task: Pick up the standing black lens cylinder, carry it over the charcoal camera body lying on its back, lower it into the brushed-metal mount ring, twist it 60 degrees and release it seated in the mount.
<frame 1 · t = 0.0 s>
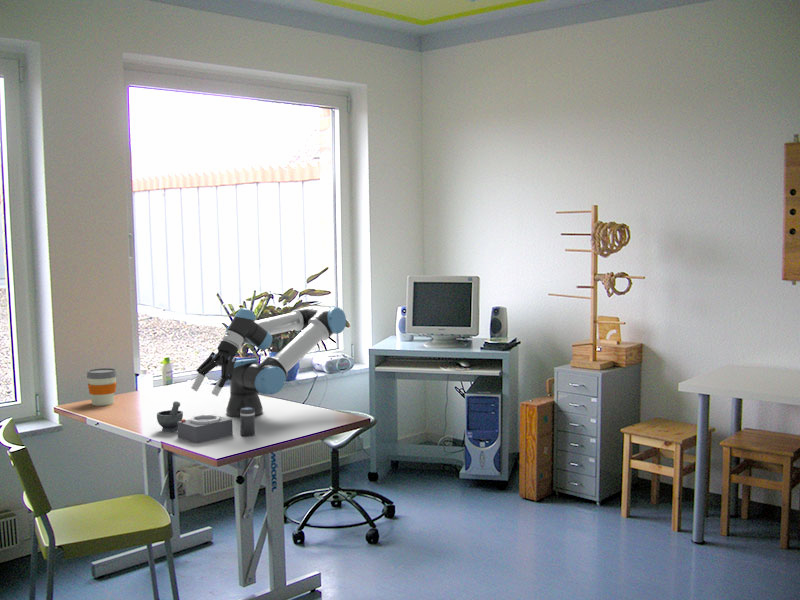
hand: (203, 392, 295), 15 cm above the table, tool tilted 35°, fingers open, 13 cm apart
reusable coffee cup: (102, 403, 345), on the table
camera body: (205, 436, 288), on the table
mortar and pestle: (171, 431, 297), on the table
lens: (247, 434, 291), on the table
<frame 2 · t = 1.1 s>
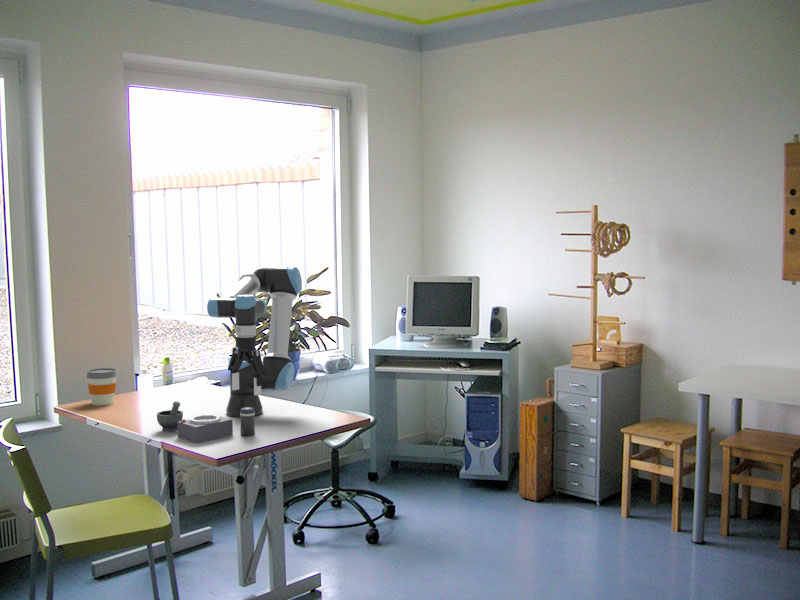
hand: (246, 392, 289), 16 cm above the table, tool pointing down, fingers open, 13 cm apart
nothing on the table moved.
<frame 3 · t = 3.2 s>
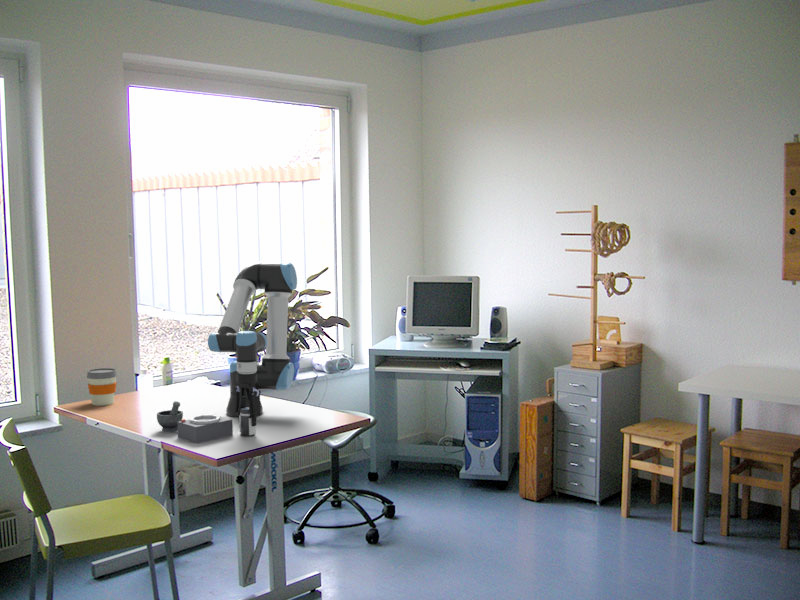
hand: (247, 432, 291), 1 cm above the table, tool pointing down, fingers closed on lens, 5 cm apart
lens: (247, 434, 291), on the table, touching gripper
everything else where it was.
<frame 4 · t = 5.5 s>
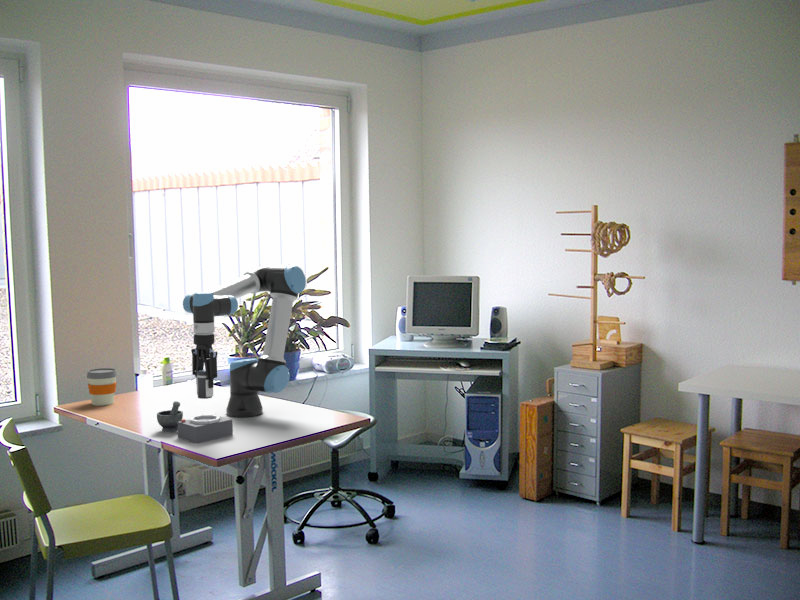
hand: (205, 395, 287), 16 cm above the table, tool pointing down, fingers closed on lens, 5 cm apart
lens: (204, 397, 287), point 15 cm above the table, touching gripper
everything else where it was.
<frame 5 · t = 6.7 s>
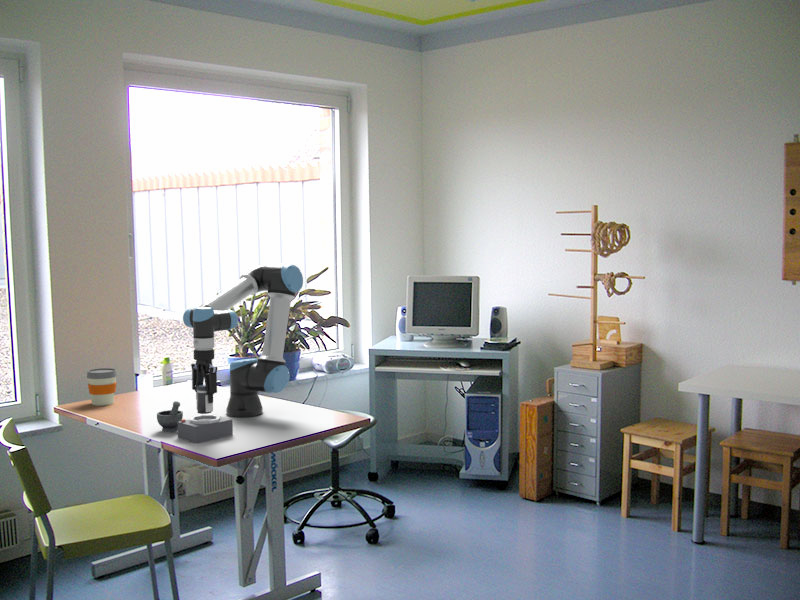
hand: (204, 410, 287), 10 cm above the table, tool pointing down, fingers closed on lens, 5 cm apart
lens: (204, 412, 287), point 9 cm above the table, touching gripper
everything else where it was.
when the fingers open (8 cm above the table, at t = 7.9 s): lens drops 1 cm, resting on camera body.
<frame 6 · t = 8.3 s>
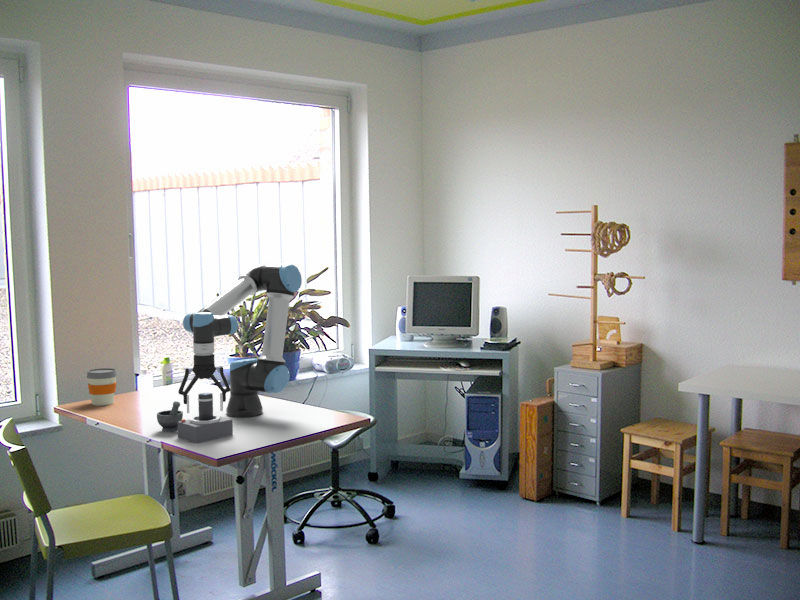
hand: (205, 411, 288), 9 cm above the table, tool pointing down, fingers open, 11 cm apart
lens: (206, 420, 288), point 6 cm above the table, touching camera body
everything else where it was.
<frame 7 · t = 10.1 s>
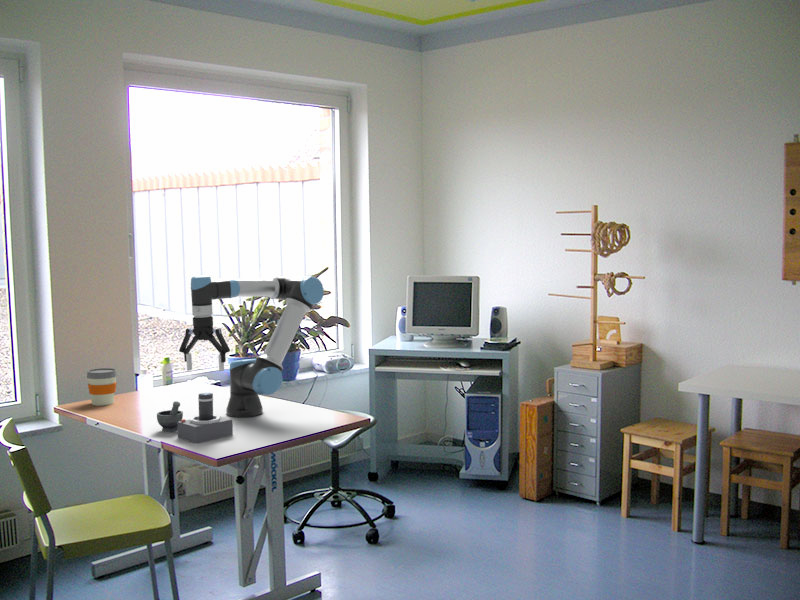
hand: (205, 370, 297), 23 cm above the table, tool pointing down, fingers open, 13 cm apart
nothing on the table moved.
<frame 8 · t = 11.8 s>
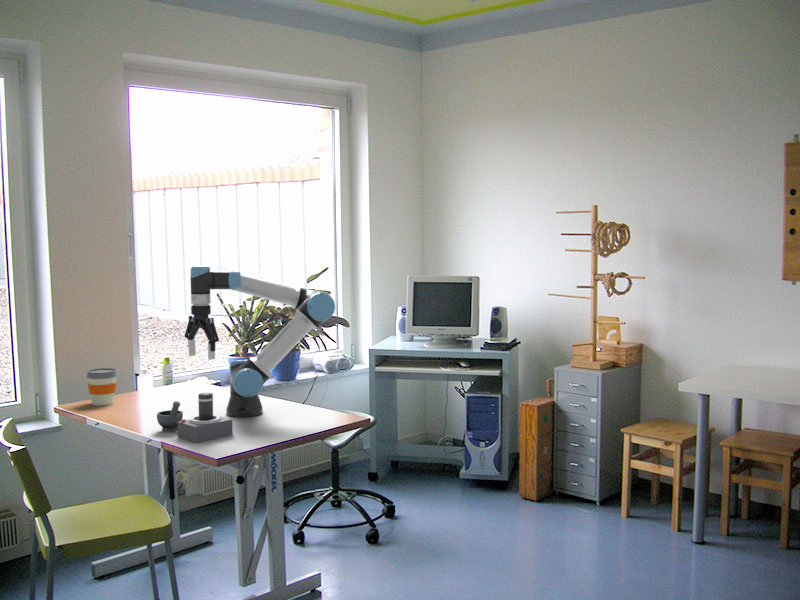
hand: (201, 357, 306), 27 cm above the table, tool pointing down, fingers open, 13 cm apart
nothing on the table moved.
at the end: lens 0.3 cm from the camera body (horizontally); lens point 6.1 cm above the table; lens tilted 2° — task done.
